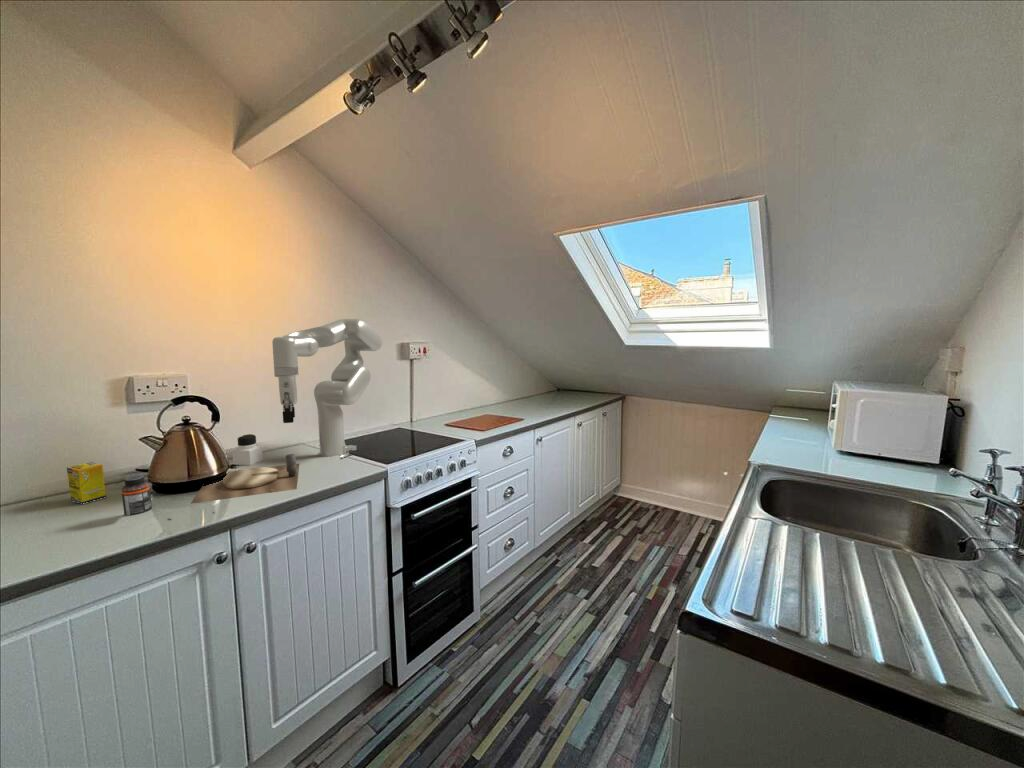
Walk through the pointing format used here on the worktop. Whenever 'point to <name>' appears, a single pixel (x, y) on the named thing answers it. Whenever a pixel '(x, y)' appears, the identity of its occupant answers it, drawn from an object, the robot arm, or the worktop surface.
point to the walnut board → (222, 492)
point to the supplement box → (86, 482)
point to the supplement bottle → (136, 496)
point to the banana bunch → (259, 475)
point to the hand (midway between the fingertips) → (289, 419)
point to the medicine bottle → (247, 451)
